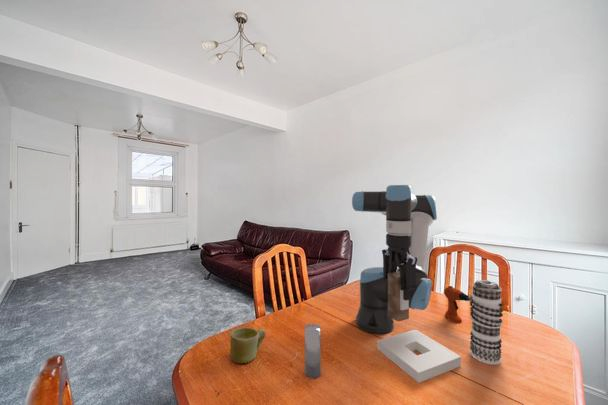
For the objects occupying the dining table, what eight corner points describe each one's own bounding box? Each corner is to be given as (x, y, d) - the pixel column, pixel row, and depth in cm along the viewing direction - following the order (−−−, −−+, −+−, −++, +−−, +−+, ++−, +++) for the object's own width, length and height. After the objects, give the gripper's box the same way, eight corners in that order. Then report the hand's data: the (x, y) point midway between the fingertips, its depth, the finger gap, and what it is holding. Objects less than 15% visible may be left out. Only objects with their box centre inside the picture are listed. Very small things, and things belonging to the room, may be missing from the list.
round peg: (302, 370, 80) (302, 325, 79) (316, 366, 81) (316, 322, 81) (308, 380, 75) (308, 333, 75) (323, 376, 77) (323, 329, 77)
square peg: (387, 315, 84) (387, 272, 84) (398, 312, 86) (398, 271, 85) (397, 321, 80) (397, 277, 79) (408, 318, 82) (409, 275, 81)
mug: (230, 367, 78) (234, 331, 82) (224, 359, 87) (228, 326, 90) (268, 364, 83) (271, 330, 87) (259, 357, 92) (262, 326, 95)
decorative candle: (485, 346, 91) (486, 276, 90) (510, 363, 82) (511, 286, 81) (462, 349, 90) (463, 278, 89) (485, 367, 81) (486, 288, 80)
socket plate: (377, 348, 90) (377, 340, 90) (415, 337, 98) (415, 329, 98) (418, 382, 74) (418, 372, 74) (460, 366, 81) (461, 356, 81)
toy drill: (474, 333, 97) (470, 294, 99) (442, 317, 115) (440, 284, 116) (485, 332, 98) (481, 293, 99) (452, 316, 116) (449, 283, 117)
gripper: (371, 230, 89) (372, 297, 90) (409, 239, 72) (409, 320, 73) (389, 229, 91) (389, 293, 92) (430, 237, 75) (429, 315, 76)
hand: (398, 305), depth 83 cm, fingers closed on square peg, 4 cm apart
